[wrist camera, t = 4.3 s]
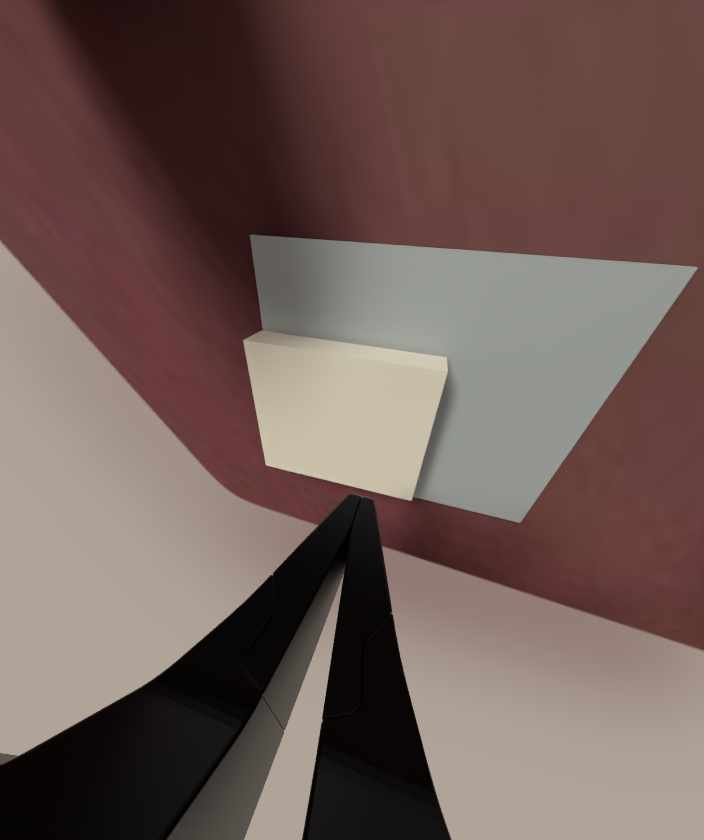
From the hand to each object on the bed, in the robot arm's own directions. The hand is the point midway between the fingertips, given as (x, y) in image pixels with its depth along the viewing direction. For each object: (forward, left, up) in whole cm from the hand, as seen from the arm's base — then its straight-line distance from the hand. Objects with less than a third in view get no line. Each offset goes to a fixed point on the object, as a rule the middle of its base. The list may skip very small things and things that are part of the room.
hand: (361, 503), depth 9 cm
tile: (-2, 0, -4) cm, 5 cm away
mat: (-1, -1, -6) cm, 6 cm away
